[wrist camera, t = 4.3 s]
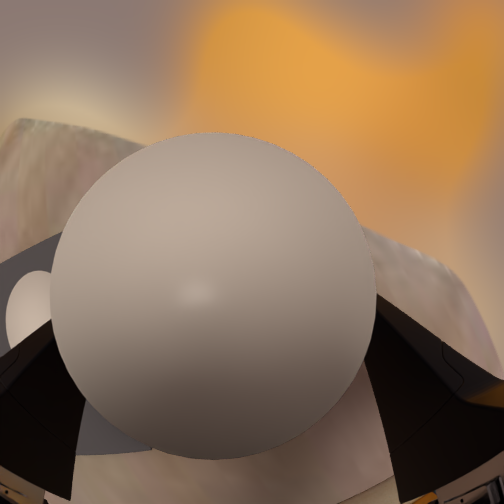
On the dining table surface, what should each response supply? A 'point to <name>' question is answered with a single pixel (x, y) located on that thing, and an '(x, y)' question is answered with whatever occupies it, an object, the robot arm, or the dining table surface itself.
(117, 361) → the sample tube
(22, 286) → the mat
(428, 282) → the dining table surface
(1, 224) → the dining table surface
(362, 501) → the wooden puzzle
